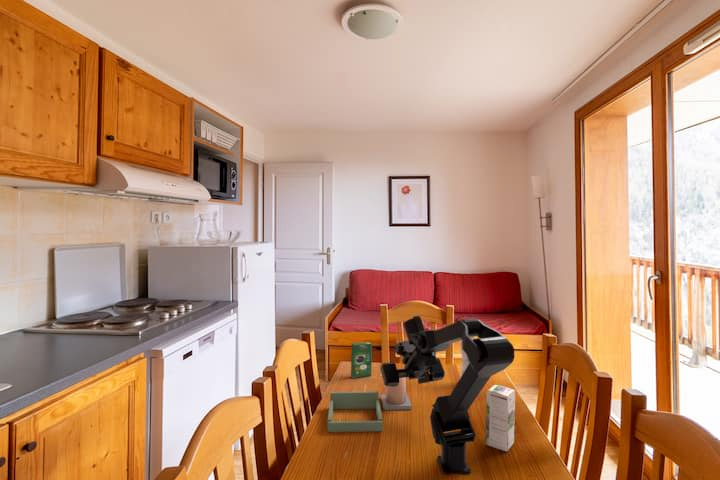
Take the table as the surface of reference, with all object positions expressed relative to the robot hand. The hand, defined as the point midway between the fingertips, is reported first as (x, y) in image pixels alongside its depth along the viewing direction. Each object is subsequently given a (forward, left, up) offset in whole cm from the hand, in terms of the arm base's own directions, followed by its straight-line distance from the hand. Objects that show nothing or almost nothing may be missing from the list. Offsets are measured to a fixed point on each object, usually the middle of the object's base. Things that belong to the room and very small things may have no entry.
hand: (404, 384), depth 117 cm
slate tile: (+7, +2, -9) cm, 12 cm away
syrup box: (-18, -23, -9) cm, 31 cm away
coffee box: (+33, +12, -9) cm, 36 cm away
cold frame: (-3, +16, -9) cm, 18 cm away
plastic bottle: (+23, -28, -9) cm, 37 cm away
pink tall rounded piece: (+7, +2, -8) cm, 11 cm away
